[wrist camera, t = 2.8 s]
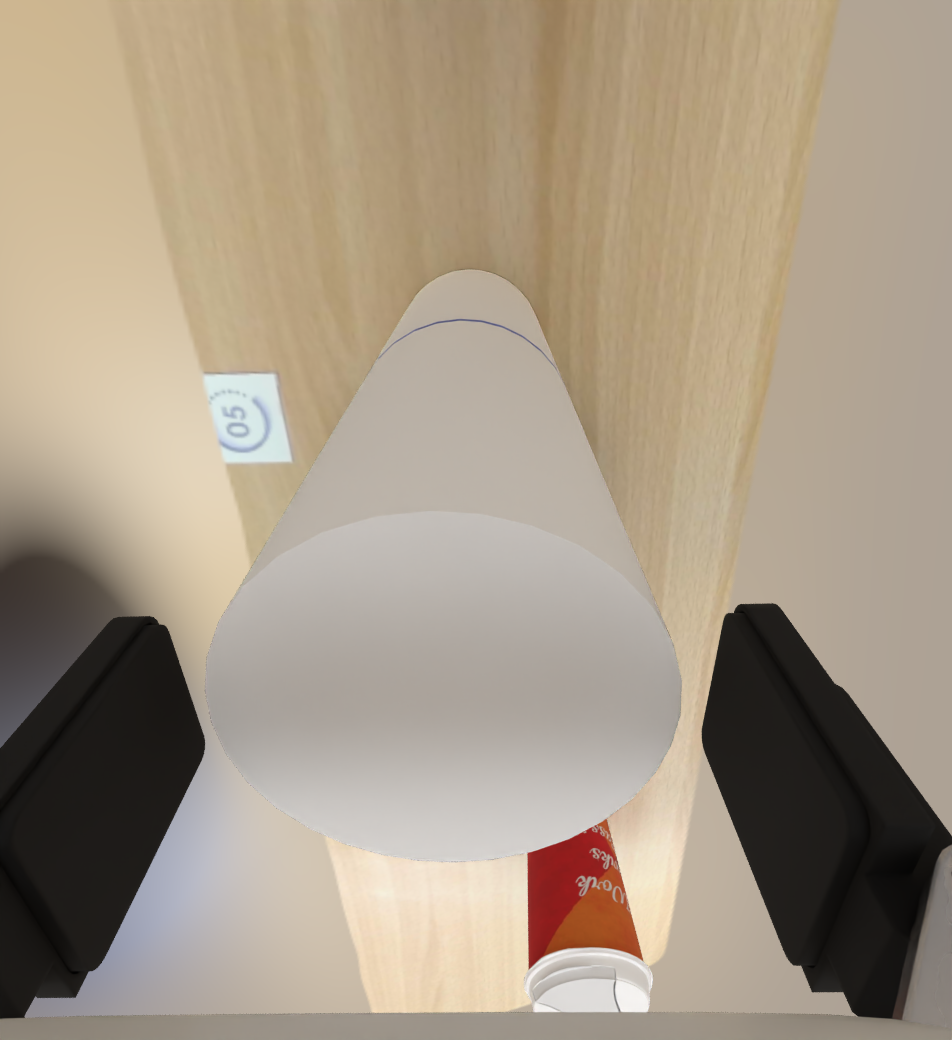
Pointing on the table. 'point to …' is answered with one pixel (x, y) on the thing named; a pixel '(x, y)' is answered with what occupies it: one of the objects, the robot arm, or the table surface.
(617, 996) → the paper cup
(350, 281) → the table surface
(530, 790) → the cylindrical container
